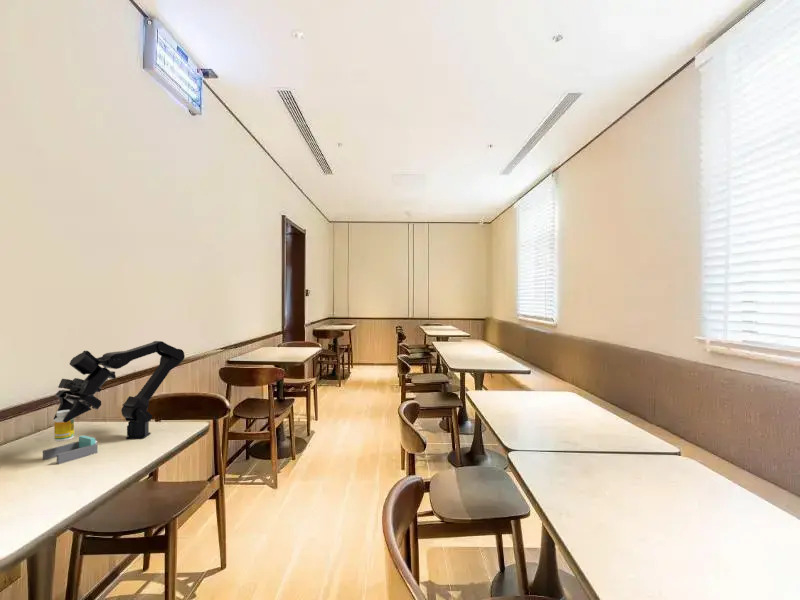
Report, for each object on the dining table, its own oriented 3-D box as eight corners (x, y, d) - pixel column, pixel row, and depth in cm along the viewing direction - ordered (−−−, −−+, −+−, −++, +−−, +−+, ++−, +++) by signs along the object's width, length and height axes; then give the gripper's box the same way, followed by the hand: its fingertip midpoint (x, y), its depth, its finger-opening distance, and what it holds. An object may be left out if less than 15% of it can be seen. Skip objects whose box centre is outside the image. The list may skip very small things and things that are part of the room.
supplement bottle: (54, 438, 151) (53, 410, 151) (73, 435, 154) (73, 408, 154) (54, 442, 147) (54, 414, 146) (74, 439, 150) (74, 411, 150)
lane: (88, 446, 162) (88, 433, 162) (104, 450, 157) (104, 436, 157) (42, 459, 149) (42, 444, 149) (58, 464, 144) (58, 448, 144)
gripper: (61, 367, 158) (24, 405, 148) (91, 370, 149) (54, 411, 140) (85, 385, 165) (52, 422, 155) (115, 389, 157) (82, 428, 147)
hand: (59, 420), depth 149 cm, fingers closed on supplement bottle, 5 cm apart
